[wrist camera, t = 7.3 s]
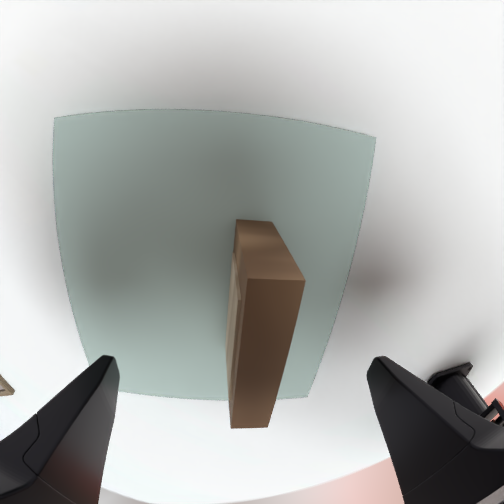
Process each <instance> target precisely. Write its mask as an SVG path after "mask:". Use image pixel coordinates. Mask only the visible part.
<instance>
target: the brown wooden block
mask: <svg viewBox="0 0 504 504" xmlns="http://www.w3.org/2000/svg"><path fill="white" fill-rule="evenodd" d="M305 282H306V280H305V278H304V276H303V274H302V273H301V271H300V269H299V267H298V266H297V264H296V262H295V260H294V259H293V257H292V255H291V253H290V252H289V250H288V248H287V246H286V245H285V243H284V241H283V239H282V238H281V236H280V234H279V232H278V231H277V229H276V227H275V226H274V224H273V222H270V221H257V220H242V219H236V226H235V237H234V248H233V253H232V263H231V276H230V288H229V301H228V314H227V328H226V342H225V349H226V367H227V384H228V399H229V411H230V425H231V428H264V427H268V424H269V421H270V418H271V414H272V411H273V408H274V404H275V401H276V397H277V394H278V390H279V387H280V383H281V380H282V376H283V372H284V369H285V365H286V361H287V357H288V354H289V350H290V346H291V342H292V338H293V334H294V330H295V326H296V321H297V317H298V313H299V309H300V304H301V300H302V296H303V291H304V287H305Z"/></svg>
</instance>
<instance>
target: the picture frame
mask: <svg viewBox="0 0 504 504" xmlns="http://www.w3.org/2000/svg"><path fill="white" fill-rule="evenodd" d="M14 392H15V390H14V389H13V388H12V387H11V386H10V385H9V384H8V383H7V382H6V380H5V379H4V378H3V377H2V376H1V375H0V396H8V395H13V394H14Z"/></svg>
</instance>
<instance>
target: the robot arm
mask: <svg viewBox="0 0 504 504" xmlns="http://www.w3.org/2000/svg"><path fill="white" fill-rule="evenodd" d="M472 367H473V365H472V364H471V363H468V364H466V365H463V366H460V367H457V368H454V369H451V370H448V371H444V372H441V373H438V374H435V375H434V376H433V377H432V378H431V379H430V381H429V383H428V384H427V383H426V382H424V381H423V380H421V379H419V378H418V377H416V376H415V375H413V374H412V373H410V372H409V371H407V370H406V369H404V368H403V367H401V366H400V365H398V364H397V363H395V362H394V361H392V360H391V359H389V358H388V357H386V356H379V357H375V358H374V359H373V361H372V363H371V365H370V367H369V369H368V371H367V381H368V385H369V389H370V393H371V397H372V401H373V405H374V409H375V412H376V415H377V418H378V421H379V424H380V426H381V429H382V432H383V435H384V438H385V441H386V444H387V447H388V450H389V453H390V456H391V459H392V462H393V466H394V468H395V472H396V475H397V478H398V482H399V485H400V489H401V492H402V495H403V499H404V503H405V504H504V406H503V405H502V403H501V402H500V401H499V400H497V399H496V398H495V399H494V401H493V402H492V404H491V405H490V406H489V407H488V405H487V404H486V402H485V401H484V400H483V398H482V397H481V396H480V394H479V393H478V392H477V390H476V389H475V388H474V386H473V385H472V384H471V382H470V381H469V380H468V379H467V377H466V376H467V375H468V373H469V372H470V370H471V369H472ZM119 381H120V373H119V369H118V366H117V362H116V359H115V357H114V356H110V355H102V356H101V357H99V358H98V359H97V360H96V361H95V362H94V363H92V364H91V365H90V366H89V367H88V368H87V369H85V370H84V371H83V372H82V373H81V374H80V375H79V376H77V377H76V378H75V379H74V380H73V381H72V382H71V383H69V384H68V385H67V386H66V387H65V388H64V389H63V390H61V391H60V392H59V393H58V394H57V395H56V396H55V397H53V398H52V399H51V400H50V401H49V402H48V403H47V404H46V405H44V406H43V407H42V408H41V409H40V410H39V411H38V412H37V414H34V415H33V416H32V417H31V418H30V419H29V420H28V421H26V422H25V423H24V424H23V425H22V426H20V427H19V428H18V429H17V430H15V431H14V432H13V433H11V434H10V435H9V436H7V437H6V438H4V439H3V440H1V441H0V504H98V500H99V494H100V488H101V482H102V476H103V470H104V465H105V460H106V455H107V450H108V445H109V440H110V436H111V431H112V427H113V423H114V418H115V411H116V403H117V395H118V388H119ZM498 413H499V415H500V416H499V417H498V418H497V419H496V420H492V421H490V420H491V419H493V418H494V417H495V416H496V415H497V414H498Z"/></svg>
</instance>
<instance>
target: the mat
mask: <svg viewBox="0 0 504 504" xmlns="http://www.w3.org/2000/svg"><path fill="white" fill-rule="evenodd" d="M375 143H376V137H372V136H369V135H365V134H361V133H357V132H353V131H349V130H344V129H340V128H335V127H331V126H326V125H321V124H316V123H310V122H305V121H299V120H293V119H287V118H280V117H273V116H265V115H257V114H248V113H237V112H226V111H211V110H187V109H144V110H121V111H107V112H96V113H86V114H78V115H70V116H63V117H56V118H54V132H53V187H54V204H55V215H56V225H57V233H58V241H59V248H60V254H61V260H62V266H63V271H64V276H65V281H66V286H67V290H68V295H69V299H70V303H71V307H72V311H73V315H74V318H75V322H76V326H77V329H78V332H79V336H80V339H81V342H82V345H83V348H84V351H85V354H86V357H87V360H88V363H89V366H90V365H91V364H92V363H94V362H95V361H96V360H97V359H98V358H99V357H101V356H102V355H110V356H114V357H115V359H116V362H117V366H118V369H119V373H120V381H119V388H118V391H121V392H127V393H134V394H142V395H150V396H159V397H169V398H182V399H198V400H229V399H228V384H227V367H226V349H225V342H226V328H227V314H228V301H229V288H230V276H231V263H232V253H233V248H234V237H235V226H236V219H242V220H257V221H270V222H273V224H274V226H275V227H276V229H277V231H278V232H279V234H280V236H281V238H282V239H283V241H284V243H285V245H286V246H287V248H288V250H289V252H290V253H291V255H292V257H293V259H294V260H295V262H296V264H297V266H298V267H299V269H300V271H301V273H302V274H303V276H304V278H305V280H306V282H305V287H304V291H303V296H302V300H301V304H300V309H299V313H298V317H297V321H296V326H295V330H294V334H293V338H292V342H291V346H290V350H289V354H288V357H287V361H286V365H285V369H284V372H283V376H282V380H281V383H280V387H279V390H278V394H277V397H276V399H290V398H302V397H307V396H308V394H309V391H310V389H311V386H312V384H313V381H314V379H315V376H316V373H317V371H318V368H319V365H320V363H321V360H322V357H323V354H324V351H325V349H326V346H327V343H328V340H329V337H330V334H331V331H332V328H333V325H334V322H335V319H336V315H337V312H338V309H339V306H340V302H341V299H342V296H343V292H344V289H345V285H346V282H347V278H348V274H349V271H350V267H351V263H352V259H353V255H354V251H355V247H356V243H357V239H358V235H359V230H360V226H361V221H362V217H363V212H364V207H365V202H366V197H367V192H368V187H369V181H370V175H371V170H372V163H373V157H374V150H375Z"/></svg>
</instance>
